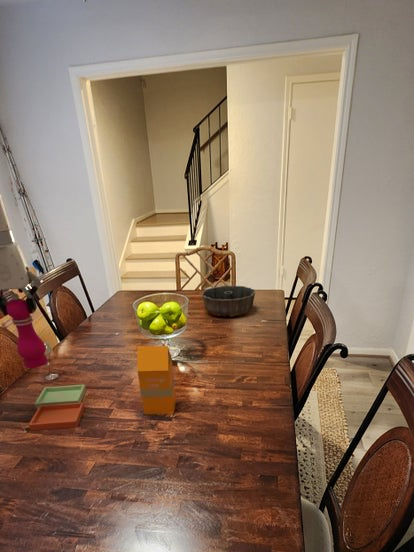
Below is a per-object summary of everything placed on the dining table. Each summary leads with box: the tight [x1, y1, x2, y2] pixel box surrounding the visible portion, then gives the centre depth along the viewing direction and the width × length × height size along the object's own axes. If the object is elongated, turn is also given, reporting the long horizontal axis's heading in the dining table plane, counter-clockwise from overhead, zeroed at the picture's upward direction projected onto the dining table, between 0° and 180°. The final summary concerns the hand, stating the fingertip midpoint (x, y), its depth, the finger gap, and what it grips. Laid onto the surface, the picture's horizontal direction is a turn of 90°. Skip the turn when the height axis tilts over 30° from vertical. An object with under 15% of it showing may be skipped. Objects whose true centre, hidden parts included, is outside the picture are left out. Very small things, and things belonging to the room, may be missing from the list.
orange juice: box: [136, 345, 177, 415], centre depth 107 cm, size 8×9×20 cm
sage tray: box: [34, 384, 87, 410], centre depth 119 cm, size 13×10×2 cm
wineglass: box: [44, 342, 59, 381], centre depth 130 cm, size 6×6×12 cm
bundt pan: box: [201, 285, 256, 318], centre depth 183 cm, size 26×26×10 cm
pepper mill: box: [6, 292, 48, 369], centre depth 100 cm, size 7×7×20 cm
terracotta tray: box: [28, 401, 86, 431], centre depth 109 cm, size 13×10×2 cm
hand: (20, 312), depth 98 cm, fingers closed on pepper mill, 6 cm apart
